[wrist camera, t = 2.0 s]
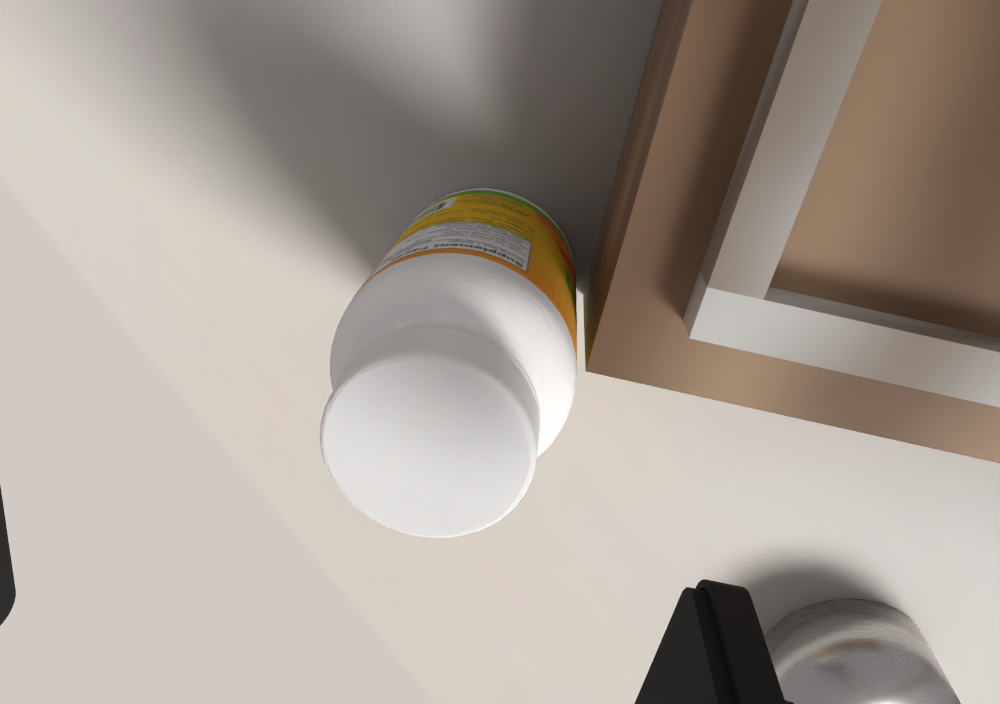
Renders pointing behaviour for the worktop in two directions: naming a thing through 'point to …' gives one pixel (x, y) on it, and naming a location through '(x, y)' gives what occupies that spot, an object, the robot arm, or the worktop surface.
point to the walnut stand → (813, 217)
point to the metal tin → (855, 657)
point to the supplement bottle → (454, 366)
